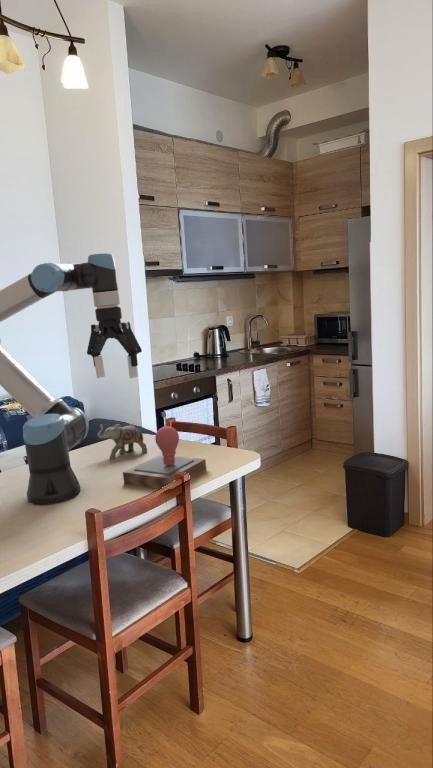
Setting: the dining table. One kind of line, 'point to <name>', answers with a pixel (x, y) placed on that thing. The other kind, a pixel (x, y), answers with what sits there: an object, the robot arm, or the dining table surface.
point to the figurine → (123, 438)
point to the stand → (162, 471)
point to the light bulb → (167, 443)
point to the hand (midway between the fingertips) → (117, 377)
